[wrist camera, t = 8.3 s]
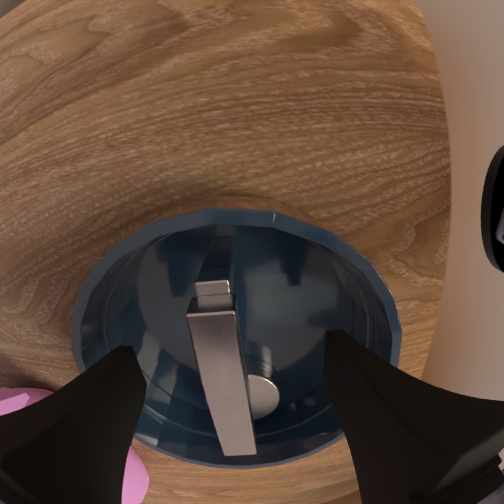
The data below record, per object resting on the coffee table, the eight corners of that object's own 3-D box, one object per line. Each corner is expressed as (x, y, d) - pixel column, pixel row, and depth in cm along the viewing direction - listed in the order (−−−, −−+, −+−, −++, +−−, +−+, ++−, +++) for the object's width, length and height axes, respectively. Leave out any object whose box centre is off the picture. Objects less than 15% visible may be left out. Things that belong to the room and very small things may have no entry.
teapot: (188, 493, 21) (181, 581, 10) (80, 477, 21) (58, 543, 10) (77, 338, 15) (-20, 482, 3) (-26, 341, 15) (-91, 410, 3)
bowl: (403, 249, 14) (454, 281, 9) (301, 427, 17) (311, 476, 13) (137, 158, 12) (90, 156, 8) (105, 379, 16) (81, 425, 11)
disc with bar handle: (278, 400, 16) (290, 482, 10) (214, 404, 16) (207, 486, 10) (267, 233, 13) (288, 291, 7) (179, 242, 13) (132, 303, 7)
